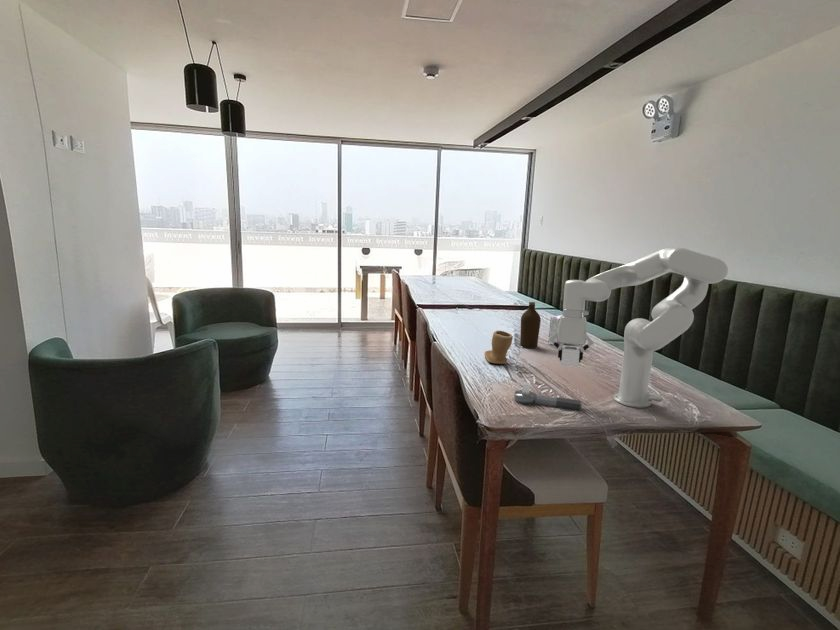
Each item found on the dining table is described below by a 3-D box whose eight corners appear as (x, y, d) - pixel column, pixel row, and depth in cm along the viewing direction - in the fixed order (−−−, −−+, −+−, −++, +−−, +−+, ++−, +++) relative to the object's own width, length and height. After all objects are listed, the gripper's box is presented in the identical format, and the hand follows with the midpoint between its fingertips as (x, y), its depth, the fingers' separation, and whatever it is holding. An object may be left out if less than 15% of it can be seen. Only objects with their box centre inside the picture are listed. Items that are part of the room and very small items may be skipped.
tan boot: (512, 366, 198) (514, 335, 195) (487, 365, 198) (489, 334, 195) (507, 357, 213) (509, 328, 210) (484, 356, 213) (485, 327, 210)
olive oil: (524, 349, 229) (527, 303, 224) (515, 344, 239) (518, 300, 235) (541, 348, 231) (545, 303, 227) (532, 343, 242) (536, 300, 237)
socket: (577, 361, 161) (579, 346, 160) (578, 366, 155) (579, 350, 154) (561, 360, 162) (562, 345, 161) (561, 364, 157) (562, 349, 156)
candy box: (561, 341, 250) (563, 313, 247) (570, 343, 246) (572, 315, 242) (547, 344, 241) (550, 316, 238) (556, 346, 237) (559, 317, 234)
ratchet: (580, 404, 154) (582, 387, 153) (581, 412, 147) (583, 395, 145) (515, 395, 161) (516, 379, 160) (513, 402, 154) (514, 385, 153)
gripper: (597, 313, 156) (593, 360, 159) (549, 310, 161) (546, 355, 165) (599, 316, 149) (595, 365, 152) (548, 313, 154) (545, 361, 158)
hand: (569, 360), depth 159 cm, fingers closed on socket, 6 cm apart
